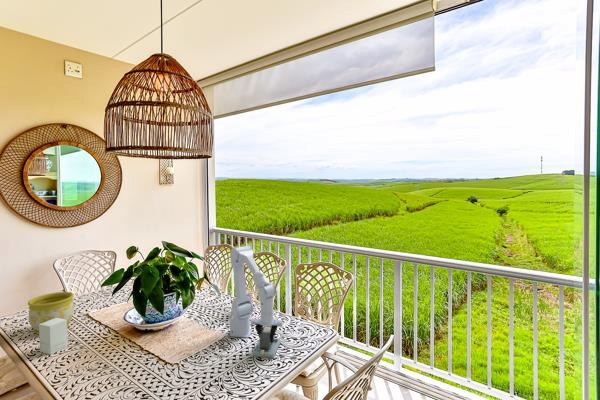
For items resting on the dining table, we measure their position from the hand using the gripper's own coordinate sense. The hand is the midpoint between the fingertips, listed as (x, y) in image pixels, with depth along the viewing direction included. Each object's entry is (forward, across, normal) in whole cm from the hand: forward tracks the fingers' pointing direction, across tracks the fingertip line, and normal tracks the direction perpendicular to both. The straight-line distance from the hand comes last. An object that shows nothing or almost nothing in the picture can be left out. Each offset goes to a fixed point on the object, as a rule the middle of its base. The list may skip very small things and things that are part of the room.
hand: (266, 340), depth 133 cm
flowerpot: (+4, -114, 0) cm, 114 cm away
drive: (+2, 0, 0) cm, 2 cm away
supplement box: (+4, -95, -16) cm, 96 cm away
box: (+4, -24, +36) cm, 43 cm away
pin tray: (+4, 0, 0) cm, 4 cm away
